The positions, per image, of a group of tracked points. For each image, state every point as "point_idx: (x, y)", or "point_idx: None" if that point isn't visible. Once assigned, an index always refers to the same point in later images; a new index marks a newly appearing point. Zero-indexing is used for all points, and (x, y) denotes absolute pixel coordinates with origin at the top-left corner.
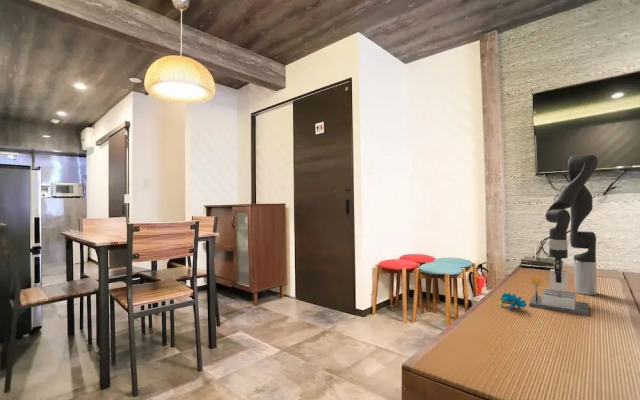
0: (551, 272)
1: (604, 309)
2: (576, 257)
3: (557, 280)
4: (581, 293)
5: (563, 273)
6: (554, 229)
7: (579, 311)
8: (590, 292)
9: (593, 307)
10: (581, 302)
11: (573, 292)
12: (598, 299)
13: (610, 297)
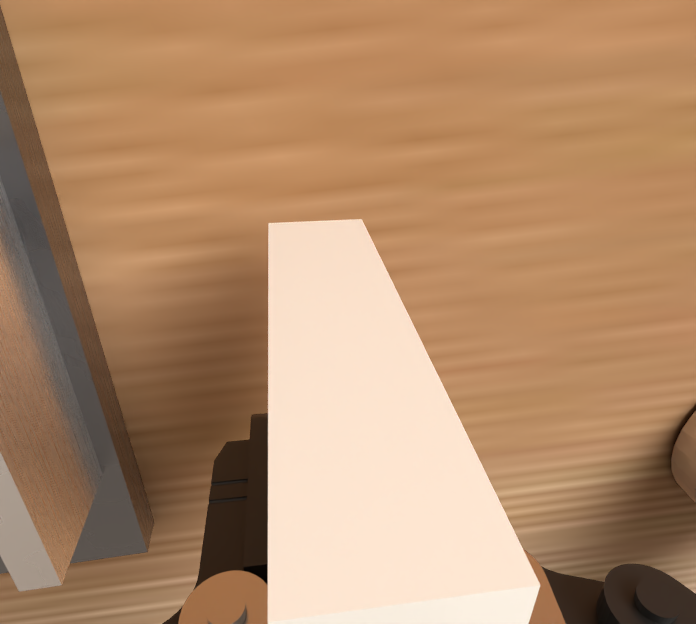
0: (274, 540)
1: (161, 602)
2: None
3: (217, 479)
4: (691, 418)
5: None
6: None
7: None
8: (689, 490)
9: (158, 551)
10: (126, 514)
11: (15, 579)
12: (525, 527)
13: (650, 562)
